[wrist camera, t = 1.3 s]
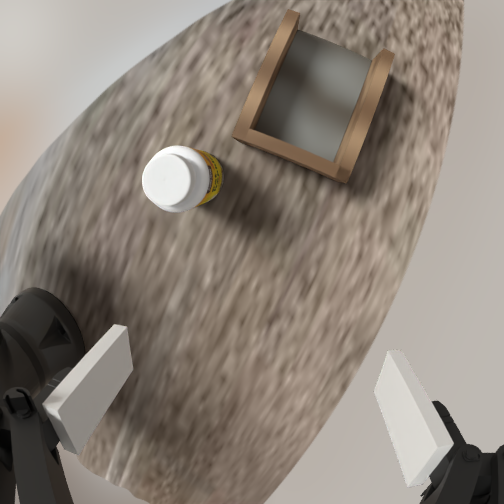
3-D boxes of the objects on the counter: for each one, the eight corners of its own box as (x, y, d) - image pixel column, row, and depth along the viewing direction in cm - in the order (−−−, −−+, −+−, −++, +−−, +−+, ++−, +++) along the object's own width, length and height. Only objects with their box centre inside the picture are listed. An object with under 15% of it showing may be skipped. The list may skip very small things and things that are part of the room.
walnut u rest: (286, 29, 26) (287, 9, 21) (379, 67, 26) (394, 54, 22) (238, 141, 30) (231, 136, 25) (336, 181, 30) (346, 183, 26)
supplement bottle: (231, 194, 31) (211, 205, 22) (182, 209, 32) (144, 226, 22) (216, 143, 30) (189, 132, 20) (168, 160, 31) (124, 158, 21)
